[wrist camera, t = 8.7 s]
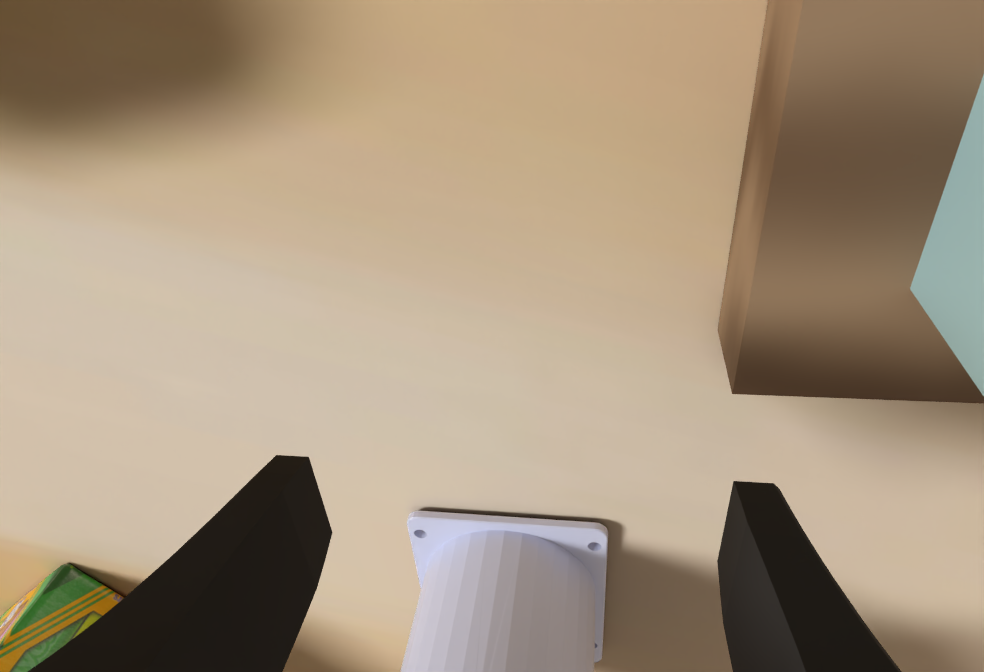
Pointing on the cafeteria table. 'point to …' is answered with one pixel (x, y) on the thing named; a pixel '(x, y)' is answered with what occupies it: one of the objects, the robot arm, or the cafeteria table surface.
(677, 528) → the cafeteria table surface
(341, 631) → the cafeteria table surface
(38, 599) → the chalk box
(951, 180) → the teal cube
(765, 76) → the walnut base
